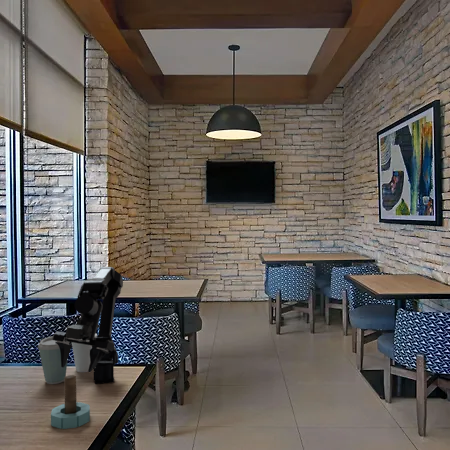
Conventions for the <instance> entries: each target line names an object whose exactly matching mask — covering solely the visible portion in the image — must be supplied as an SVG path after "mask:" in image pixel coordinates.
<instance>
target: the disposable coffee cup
mask: <svg viewBox="0 0 450 450" xmlns="http://www.w3.org/2000/svg"><path fill="white" fill-rule="evenodd" d="M52 338H53V336H49V337H45V338H43V339H42V340H40V341H39V343H38V345H37V349H38V350H39V352H38V353H39V355H40V356H39V357H40V361H41V362H40V363H41V366H42V373H43V376H44V380H45V382H46V383H45V384H48V385H58V384H61V383H63V382H64V377H66V376H67V367H68V361H67V362H66V364H65V367H64V368H63V367H61V353H60V348H59V346H58V344H56V343H55V342H57V341H54V340H52ZM69 345H71V343H70V344H69Z"/></svg>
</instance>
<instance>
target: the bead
mask: <svg viewBox="0 0 450 450" xmlns="http://www.w3.org/2000/svg"><path fill="white" fill-rule="evenodd" d="M76 406H77V412H76V413H74V414H65V403H62V404H59V405H57V406H56V407H53V408H52V409H51V413H50V425H51V427H54V428H57V429H60V430H62V429H63V430H65V429H67V430H68V429H75V428H79V427H81V426H83V425H85V424H87V423H89V422H90V417H91V416H90V414H91V410H90V409H91V408H90V407H91V406H90V404H88V403H84V402H81V401H76Z"/></svg>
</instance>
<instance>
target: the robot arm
mask: <svg viewBox="0 0 450 450" xmlns="http://www.w3.org/2000/svg"><path fill="white" fill-rule="evenodd" d="M123 279H124V278H123V276H122V274H121V273H120V272H118V271H117V270H116V269H115V267H113V266H102V267H99V270H98V272H97V273H96V274H95V275H94V277H93V278H89V279H85V280H84V281H83V283H82V284H81V286H80V288H79V292H78V294H77V298H76V300H75V302H74V309H75V311H76V312H78V313H79V314H80V319H77V321H76V323H75V324H72V325H69V326H67V327H66V332H63V331H56V332H55V333H54V334H53V338H52V340H54V341H57V342H55V343H56V344H58V346H59V348H60V353H61V367H63V368H64V367H65V364H66V362H67V363H68V359H69V356H70V353H71V351H72V349H73V347H72V342H73V343H79V344H85V345H91V346H92V348H90V365H89V370H88V373H92V372H93V381H94V384H95V385H98V384H99V385H100V384H109V383H115V377H114V374H115V373H114V371H115V370H114V367H115V365H116V364H119V355H118V351H117V348H116V346H115V345H116V344H115V342H114V340H113V338H112V332H113V323H114V315H115V314H114V313H115V307H116V300H117V299H118V298H119V296H120V294H121V292H122V288H123V287H124V280H123ZM97 330H98V334H97V333H96V332H97ZM95 334H97V337H96V338H95ZM79 339H82V340H79ZM86 340H89V342H86ZM81 341H82V342H81ZM69 344H70V345H69Z"/></svg>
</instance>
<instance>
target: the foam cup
mask: <svg viewBox="0 0 450 450" xmlns="http://www.w3.org/2000/svg"><path fill="white" fill-rule="evenodd" d="M97 336H98V334H97V333H96V334H95V338H96V337H97ZM79 340H82V339H79ZM81 342H82V341H81ZM86 342H89V340H86ZM71 346H72V353H73V359H74V366H75V371H76V372H77V373H87V372H88V370H89V365H90V348H92V346H91V345H85V344H79V343H73V342H72V343H71ZM88 373H89V372H88Z"/></svg>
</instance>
